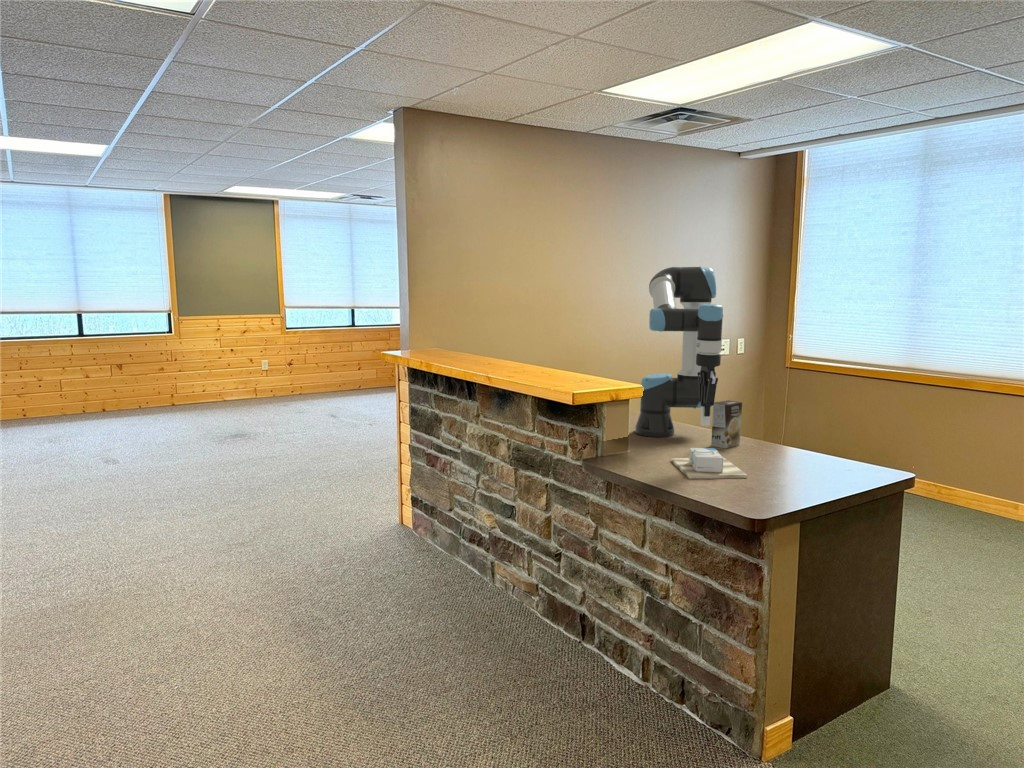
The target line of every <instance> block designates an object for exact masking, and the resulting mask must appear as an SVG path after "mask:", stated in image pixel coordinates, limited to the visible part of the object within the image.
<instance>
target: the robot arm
mask: <svg viewBox="0 0 1024 768" xmlns="http://www.w3.org/2000/svg"><path fill="white" fill-rule="evenodd" d="M648 292H649V295H650V297H651V298H652V303H653V308H651V309H650V310H649V314H648V315H649V318H648V324H649V325H648V326H649V330H650V331H653V332H682V349H681V350H682V352H681V369H680V370H679V371H678V372H677V377H673V375H672V374H671V373H663V372H662V373H654V374H649V375H645V376H644V377H642V379H641V381H640V382H641V383H640V386H641V385H642V386H643V387H644V391H643V396H642V397H641V396H640V404H639V405H640V407H639V409H640V413H639V416H638V418H637V421H636V424H635V428H634V433H635V434H637V435H640V436H645V437H651V438H652V437H655V438H658V437H659V438H664V437H665V438H666V437H671V436H673V435H675V426H674V422H673V419H672V416H671V409H672V408H682V409H683V408H686V409H687V408H688V409H689V408H691V409H693V410H694V409H700V423H699V424H700V426H701V427H711V414H712V407H713V405H714V402H715V398H716V391H717V386H718V385H717V384H718V381H719V378H718V377H716V370H715V369H716V367H720V365H721V358H722V355H721V354H720V353H721V352H722V341H723V340H722V336H723V335H722V333H723V320H724V307H723V305H721V304H713V303H712V299H715V298H716V297H717V296H716V295H717V283H716V276H715V272H714V270H713V269H712V268H711V267H708V266H672V267H666V268H664V269H662V270H659V272H657V273H655V274H654V276H653V277H652V278H651V280H650V281H649V284H648ZM676 299H679V303H680V304H681V306H682V307H683V308H677V304H676V303H677V302H676Z"/></svg>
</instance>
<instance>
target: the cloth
mask: <svg viewBox="0 0 1024 768" xmlns="http://www.w3.org/2000/svg"><path fill="white" fill-rule="evenodd" d="M670 459H671V461H670V462H671V463H672V464H674V466H675V467H676V468H678V470H680V471H681V473H683V475H685V476H686V477H687V478H688V479H691V480H692V479H693V480H695V479H697V480H699V479H700V480H701V479H747V478H748V475H747V473H745V472H744V471H743V470H741V469H740V468H739V467H737V466H736V465H734V464H733V462H731V461H729V460H728V459H726V458H725V457H723V472H720V473H719V472H697V471H695V470H694V468H693V467H692V465H691V463H690V462H689V457H683V458H681V457H679V458H670Z"/></svg>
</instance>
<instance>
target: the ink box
mask: <svg viewBox="0 0 1024 768" xmlns="http://www.w3.org/2000/svg"><path fill="white" fill-rule="evenodd" d="M688 455H689V457H688V458H689V462H690V463H691V465H692V467H693V468H694V470H695V471H697V472H719V473H720V472H723V458H724V457H723V456H722V454H720V453H719V451H718V450H717V449H716V448H715V447H714V448H710V447H689V454H688Z"/></svg>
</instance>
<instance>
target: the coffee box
mask: <svg viewBox="0 0 1024 768" xmlns="http://www.w3.org/2000/svg"><path fill="white" fill-rule="evenodd" d="M742 410H743V402H741V401H735V400H721V401H714V405H713V406H712V421H711V422H712V425H711V443H710V444H711V446H712V447H717V448H722V449H728V448H733V447H738V446H740V443H741V429H742V428H741V426H742V413H743V411H742Z"/></svg>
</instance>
